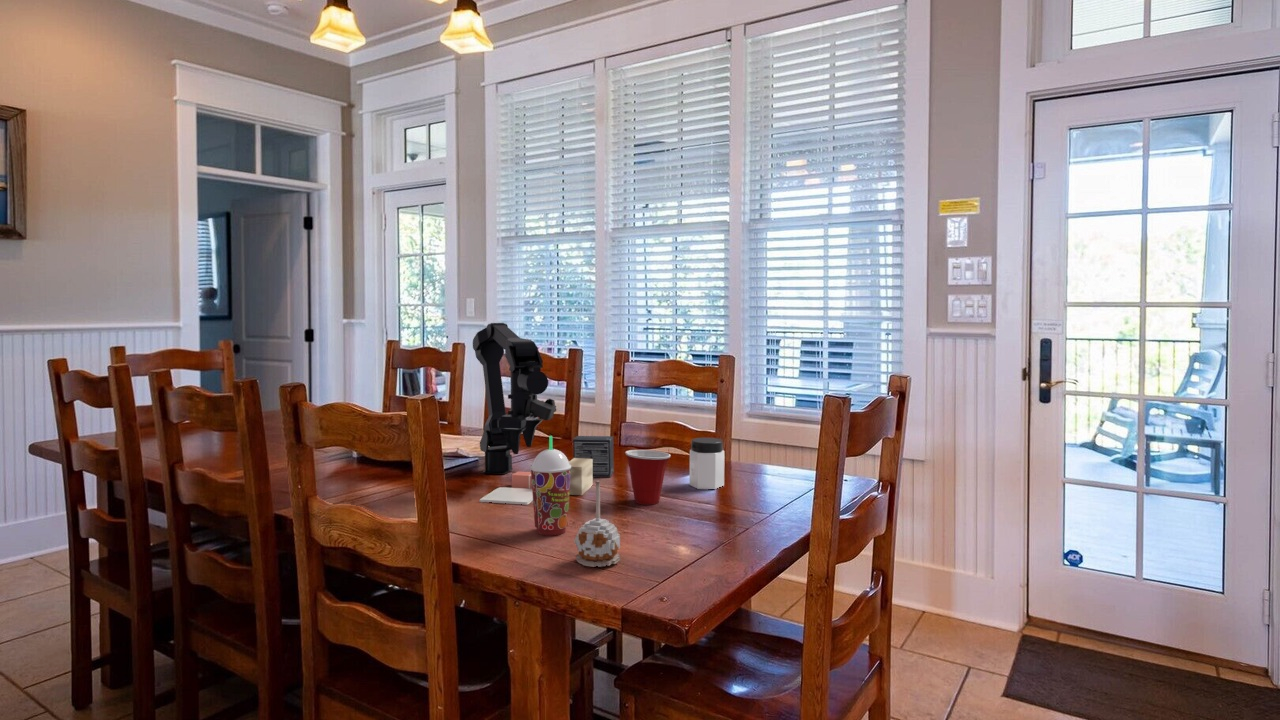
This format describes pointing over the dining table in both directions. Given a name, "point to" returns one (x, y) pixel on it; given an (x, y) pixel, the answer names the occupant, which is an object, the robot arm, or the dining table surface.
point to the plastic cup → (647, 474)
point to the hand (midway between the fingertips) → (522, 450)
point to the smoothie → (551, 491)
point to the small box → (596, 453)
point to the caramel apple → (597, 540)
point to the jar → (706, 463)
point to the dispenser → (581, 475)
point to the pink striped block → (522, 480)
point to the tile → (509, 496)
